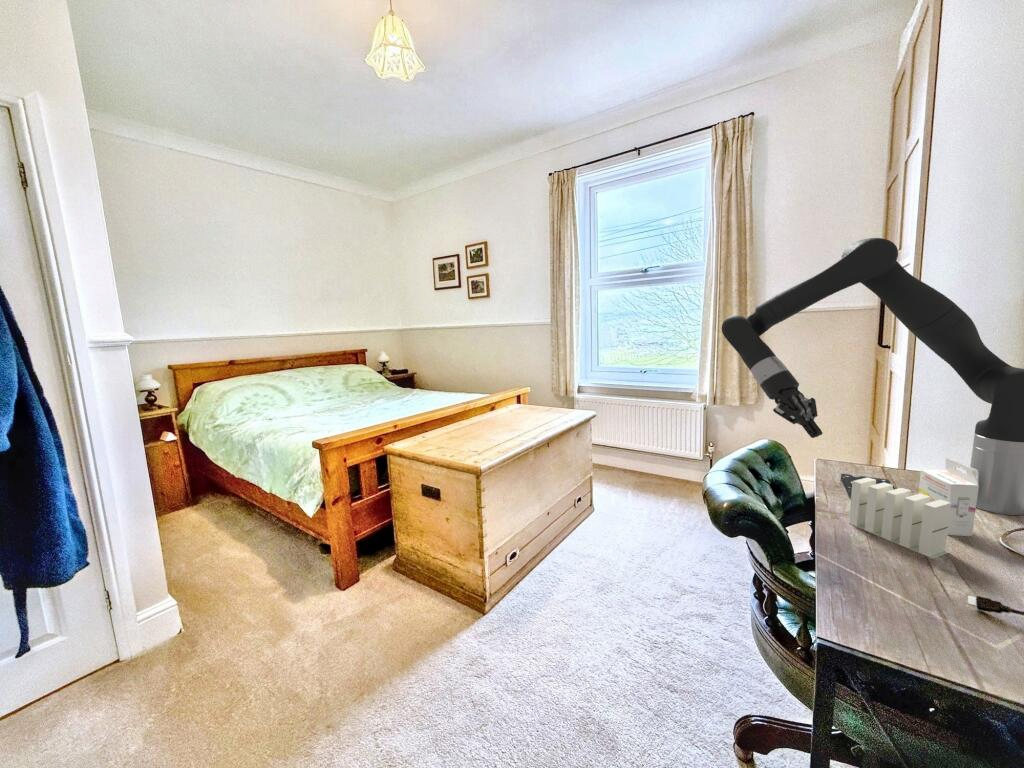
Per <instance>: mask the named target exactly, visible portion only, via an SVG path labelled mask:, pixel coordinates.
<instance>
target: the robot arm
mask: <svg viewBox="0 0 1024 768" xmlns="http://www.w3.org/2000/svg"><path fill="white" fill-rule="evenodd" d="M840 257H841V258H840V259H839V260H837V261H836V262H835V263H834V264H832V265H831V266H829V267H827V268H826V269H824V270H822V271H820V272H819V273H817V274H815V275H813V276H811V277H809V278H807V279H805V280H802V281H800V282H798V283H796V284H794V285H792V286H790V287H787V288H786V289H783V290H782V291H780V292H778V293H776V294H775V295H772V296H771V297H769V298H768V299H766V300H764V301H762V302H761V303H759V304H757V306H756V307H755V310H754V312H753V313H751V314H750V315H748V316H747V317H745V316H742V315H739V314H734V315H730V316H728V317H727V318H725V320H724V321H723V322H722V324H721V333H722V335H723V337H724V338H725V339H726V341H727V342H728V343H729V344H730V345H731V347H732V348H733V349H734V350H735V351H736V353H737V354H738V355H739V356H740V358H741V360H742V361H743V363H744V364H745V366H746V367H747V368H748V370H749V371H750V373H751V375H752V377H753V378H754V380H755V381H756V382H757V384H758V385H759V387H760V388H761V390H762V392H764V394H765V395H766V396H767V398H768V399H769V400H774V403H775V404H776V406H775V407H774V408H773V409H772V411H773V413H775V414H777V416H780V417H781V418H782V419H784V420H786V421H788V422H789V423H790V424H792V425H796V424H797V425H799V426H801V427H802V428H803V430H804V431H805V432H806V434H807V435H808V436H809V437H810V438H811V439H814V438H818V437H820V436H822V435H823V431H822V429H821V428H820V427H819V425H818V424H817V422H815V418H816V417H818V408H817V404H816V403H817V402H816V399H815V397H811V398H807V397H805V395H804V393H802V392H801V391H800V390H799V386H800V383H799V381H798V380H797V379H796V377H795V376H794V375H793V374H792V372H791V371H790V370H789V369H788V368H787V366H786V365H785V363H783V361H782V360H781V359H779V357H777V355H776V354H775V352H773V350H772V349H771V348H770V346H769V345H768V344H767V343H766V342H764V340H763V339H761V336H762V335H763V334H765V333H766V332H768V330H769V329H771V328H772V327H774V326H775V325H778V324H779V323H782V322H784V321H785V320H787V319H789V318H791V317H793V316H794V315H796V314H798V313H801V312H802V311H804V310H805V309H808V308H809V307H811V306H813V305H814V304H816V303H818V302H821V301H822V300H824V299H826V298H828V297H829V296H832V295H833V294H836V293H838V292H841V291H842V290H845V289H846V288H849V287H852V286H854V285H858V284H862V285H863V286H864V287H866V288H867V289H868V290H869V291H871V292H872V293H874V295H876V296H877V297H878V298H879V299H880V300H881V301H882V302H883V303H884V305H885V306H886V307H887V309H889V311H890V312H891V313H892V314H893V315H894V316H895V317H896V319H898V320H899V321H900V322H901V323H902V324H903V326H904V327H906V329H907V330H908V331H910V332H911V334H913V335H914V337H916V338H917V339H918V340H920V341H921V342H922V343H923V344H924V345H925V346H926V347H927V348H928V349H930V350H931V351H933V353H934V354H935V355H937V356H938V357H939V358H940V359H942V360H943V361H944V362H946V363H947V364H948V365H949V366H950V367H951V368H952V369H953V370H954V371H955V372H956V374H957V375H958V376H959V377H960V378H961V379H962V380H963V382H964V383H965V384H966V385H967V387H968V388H969V389H970V390H971V392H972V393H974V395H976V397H977V398H979V399H980V400H982V401H983V402H985V403H987V404H991V406H990V410H989V413H988V414H989V415H988V417H987V418H986V419H982V420H979V421H977V422H976V424H975V426H974V427H975V429H974V434H973V443H972V451H971V458H970V465H969V467H971V468H973V469H976V470H978V472H979V479H978V485H979V489H978V496H977V503H976V509H980V510H984V511H988V512H992V513H996V514H1002V515H1007V516H1009V515H1010V516H1023V515H1024V368H1023V367H1015V366H1012V365H1010V364H1009V363H1007V362H1006V361H1004V360H1003V359H1002V358H1000V357H999V356H998V355H996V354H995V353H994V352H993V351H991V350H990V349H989V348H988V347H987V346H986V345H985V344H984V341H982V339H981V337H980V336H981V335H979V331H978V328H977V326H976V324H975V322H974V321H973V319H972V318H971V317H970V316H969V315H968V314H967V312H965V311H964V310H963V309H962V308H961V307H960V306H958V304H956V303H955V302H954V301H953V300H952V299H950V298H949V297H947V296H946V295H944V294H943V293H942V292H940V291H938V290H937V289H936V288H934V287H932V286H930V285H929V284H927V283H925V282H923V281H921V280H920V279H918V278H917V277H915V276H913V275H912V274H911V273H909V272H908V271H907V270H906V269H905V268H904V267H903V266H902V265H901V264H900V263H899V262H898V261H897V260H898V257H899V248H898V247H897V245H896V244H895V243H894V242H893V241H891V240H889V239H887V238H884V237H883V238H881V237H870V238H863V239H860V240H857V241H855V242H852V243H851V244H850V245H849V246H847V247H846V248H845V249H844V251H843V252H842V254H841V256H840Z"/></svg>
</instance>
